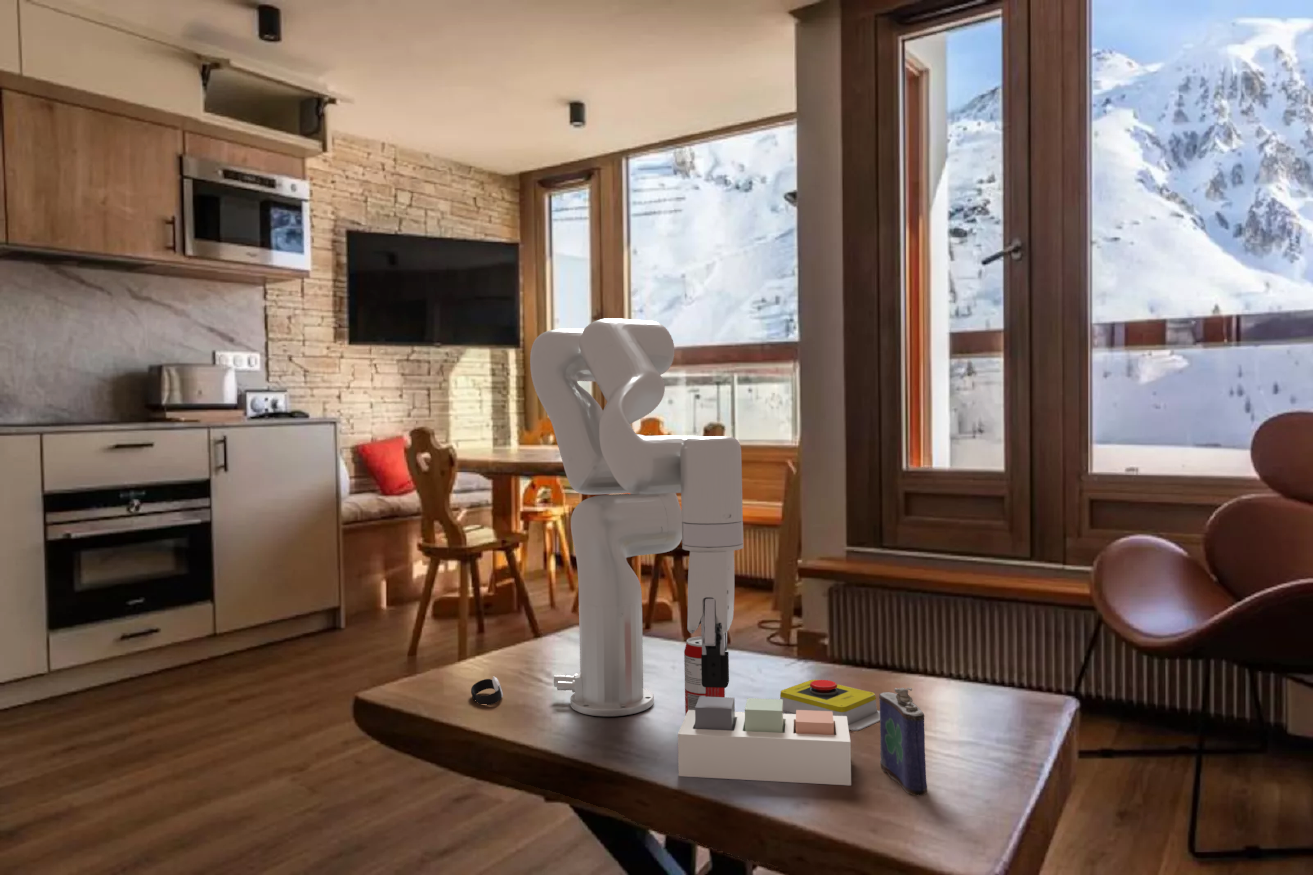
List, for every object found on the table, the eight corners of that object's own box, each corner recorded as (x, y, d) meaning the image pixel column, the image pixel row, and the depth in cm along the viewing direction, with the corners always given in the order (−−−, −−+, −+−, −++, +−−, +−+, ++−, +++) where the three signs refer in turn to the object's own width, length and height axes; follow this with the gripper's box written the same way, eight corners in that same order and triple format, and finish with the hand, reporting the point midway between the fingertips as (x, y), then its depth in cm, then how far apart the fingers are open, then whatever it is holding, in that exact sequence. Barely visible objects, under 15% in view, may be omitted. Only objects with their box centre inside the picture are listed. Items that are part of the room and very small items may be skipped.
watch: (508, 705, 129) (508, 681, 129) (478, 710, 127) (477, 686, 127) (495, 692, 136) (494, 669, 136) (466, 696, 134) (465, 673, 134)
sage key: (745, 742, 101) (744, 709, 101) (747, 730, 106) (747, 698, 106) (782, 744, 101) (781, 710, 101) (783, 731, 105) (782, 699, 105)
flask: (876, 765, 103) (875, 677, 103) (899, 763, 103) (898, 675, 103) (909, 797, 94) (908, 700, 94) (934, 795, 94) (933, 699, 94)
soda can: (727, 718, 121) (726, 634, 121) (722, 732, 115) (720, 644, 115) (689, 716, 122) (687, 633, 122) (682, 729, 117) (680, 642, 116)
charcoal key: (695, 740, 103) (695, 707, 103) (700, 728, 107) (699, 696, 107) (731, 742, 102) (731, 708, 102) (735, 729, 106) (734, 697, 106)
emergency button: (806, 668, 132) (892, 688, 121) (806, 697, 132) (892, 718, 121) (768, 681, 126) (855, 703, 115) (769, 711, 126) (856, 735, 115)
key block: (678, 776, 101) (677, 734, 101) (688, 748, 109) (688, 709, 109) (851, 785, 97) (850, 741, 97) (847, 756, 106) (846, 716, 106)
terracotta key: (796, 755, 100) (795, 721, 100) (796, 742, 105) (796, 709, 105) (834, 757, 100) (833, 723, 100) (832, 743, 104) (832, 711, 104)
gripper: (690, 530, 112) (693, 668, 112) (672, 543, 98) (676, 703, 97) (747, 529, 111) (750, 670, 111) (738, 543, 96) (741, 705, 96)
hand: (715, 685), depth 104 cm, fingers closed
